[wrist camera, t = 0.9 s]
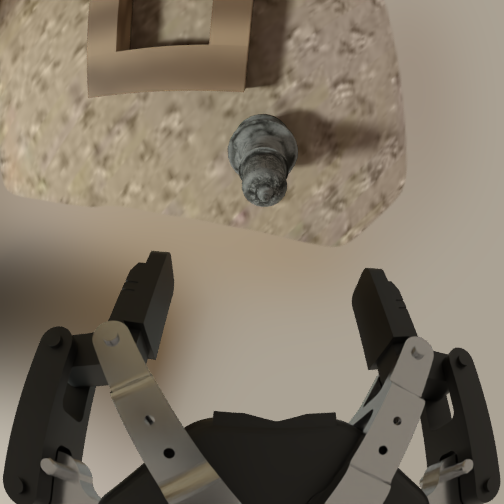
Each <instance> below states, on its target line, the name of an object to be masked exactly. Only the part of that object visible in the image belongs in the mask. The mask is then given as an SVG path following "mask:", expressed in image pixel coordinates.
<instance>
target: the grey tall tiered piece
mask: <svg viewBox="0 0 504 504" xmlns="http://www.w3.org/2000/svg"><path fill="white" fill-rule="evenodd" d="M297 157H298V147H297V143H296V140H295V138H294V136H293V134H292V133H291V132H290V131H289V130H288V129H287V128H286V126H285V125H284V124H283V123H282V122H281V121H280V120H279V119H277V118H275V117H274V116H270V115H266V114H258V115H254V116H251V117H249V118H247V119H245V120H244V121H243V122H242V123H241V124H240V125H239V127H238V128H237V130H236V131H235V132H234V134H233V136H232V137H231V139H230V142H229V146H228V158H229V161H230V164H231V166H232V167H233V169H234V170H235V172H236V173H237V174H239V176H240V178H241V180H242V190H243V193H244V196H245V197H246V199H247V200H248V201H249V202H251V203H252V204H254V205H256V206H261V207H268V206H272V205H274V204H277V203H278V202H279V201H281V200H282V198H283V197H284V196H285V193H286V190H287V181H286V179H287V176H288V174H289V173H290V171H291V170H292V168H293V167H294V166H295V163H296V160H297Z"/></svg>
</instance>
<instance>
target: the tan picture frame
mask: <svg viewBox="0 0 504 504" xmlns="http://www.w3.org/2000/svg"><path fill="white" fill-rule="evenodd" d="M253 3H254V0H213V6H212V17H211V28H210V40H209V45H176V46H161V47H150V48H141V49H133V50H130V35H131V18H132V5H133V0H90V3H89V15H88V33H87V83H88V98H93V97H100V96H108V95H117V94H126V93H138V92H154V91H190V90H195V91H231V92H244V91H245V86H246V75H247V64H248V53H249V43H250V33H251V23H252V13H253Z"/></svg>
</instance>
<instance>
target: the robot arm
mask: <svg viewBox="0 0 504 504" xmlns="http://www.w3.org/2000/svg"><path fill="white" fill-rule="evenodd" d="M173 290H174V278H173V269H172V261H171V254H170V253H169V252H159V251H151V253H150V255H149V258H148V259H147V262H146V263H138V264H137V265H136V266H134V267H133V268H132V269H131V270H130V272H129V274H128V276H127V279H126V282H125V283H124V285H123V288H122V290H121V292H120V295H119V297H118V299H117V302H116V304H115V306H114V309H113V311H112V314H111V316H110V318H109V320H108V322H105V323H103V324H101V325H100V326H99V327H97V329H96V330H95V332H93V333H88V334H79V335H71V333H70V331H69V330H68V329H66V328H64V327H53V328H51V329H49V330H48V331H47V332H46V333H45V334H44V335H43V337H42V338H41V341H40V343H39V346H38V348H37V351H36V353H35V356H34V359H33V361H32V364H31V367H30V370H29V372H28V375H27V378H26V381H25V384H24V387H23V391H22V394H21V397H20V401H19V404H18V407H17V411H16V415H15V419H14V423H13V427H12V431H11V435H10V440H9V445H8V450H7V455H6V461H5V467H4V474H3V483H4V488H5V490H6V492H7V494H8V496H9V497H10V498H11V499H12V500H13V501H14V502H15V503H16V504H483V503H486V502H489V501H491V500H492V499H493V498H494V497H495V496H496V494H497V493H498V490H499V487H500V472H499V465H498V458H497V452H496V446H495V440H494V435H493V430H492V426H491V421H490V417H489V413H488V409H487V405H486V401H485V398H484V394H483V391H482V387H481V384H480V381H479V378H478V374H477V372H476V368H475V365H474V362H473V360H472V358H471V356H470V354H469V353H468V352H467V351H465V350H464V349H462V348H454V349H453V350H452V351H451V352H450V353H449V354H443V353H439V352H435V351H433V350H432V347H431V345H430V344H429V343H428V342H427V341H426V340H424V339H423V338H420V337H418V336H417V333H416V330H415V328H414V325H413V323H412V320H411V318H410V315H409V313H408V310H407V309H406V305H405V303H404V302H403V298H402V296H401V294H400V291H399V290H398V288H397V287H396V286H395V285H394V284H393V283H392V282H391V281H388V280H387V278H386V276H385V273H384V271H383V270H382V269H374V268H365V269H364V270H363V272H362V274H361V277H360V279H359V281H358V284H357V286H356V288H355V290H354V293H353V296H352V307H353V311H354V314H355V318H356V322H357V325H358V329H359V333H360V337H361V341H362V345H363V349H364V354H365V358H366V361H367V366H368V370H374V369H378V372H379V375H378V376H377V377H376V379H375V381H374V383H373V384H372V386H371V388H370V390H369V392H368V394H367V396H366V398H365V400H364V402H363V403H362V405H361V407H360V408H359V410H358V412H357V413H356V414H355V415H354V417H353V418H352V419H351V421H350V422H349V423H346V422H344V421H341V420H336V413H335V412H334V413H317V414H305V415H301V416H298V417H294V418H290V419H286V420H282V421H272V420H268V419H263V418H260V417H256V416H252V415H249V414H245V413H231V412H218V411H214V414H213V418H207V419H203V420H200V421H197V422H194V423H192V424H190V425H188V426H186V427H185V428H184V427H183V426H182V424H181V422H180V421H179V419H178V418H177V416H176V415H175V413H174V411H173V410H172V408H171V406H170V405H169V403H168V401H167V400H166V398H165V396H164V395H163V393H162V391H161V389H160V388H159V386H158V384H157V382H156V381H155V379H154V377H153V375H152V374H151V373H150V371H149V370H148V367H147V366H146V363H147V359H154V360H156V357H157V353H158V349H159V344H160V341H161V337H162V333H163V329H164V325H165V321H166V318H167V314H168V310H169V306H170V303H171V299H172V296H173ZM104 385H109V387H110V389H111V392H110V395H111V398H112V400H113V402H114V405H115V407H116V409H117V411H118V413H119V415H120V417H121V420H122V422H123V424H124V426H125V428H126V430H127V432H128V434H129V436H130V437H131V439H132V441H133V443H134V445H135V447H136V449H137V451H138V452H139V454H140V456H141V457H142V459H143V461H144V463H143V464H142V465H141V466H140V467H139V468H137V469H136V470H135V471H134V472H133V473H132V474H130V475H129V476H128V477H127V478H125V479H124V480H123V481H122V482H120V483H119V484H118V485H117V486H116V487H114V488H113V489H112V490H110V491H109V492H108V493H107V494H105V495H104V496H103V497H102V498H100V497H99V496H98V494H97V493H96V491H95V490H94V487H93V483H92V474H91V472H90V470H89V468H88V467H87V466H86V465H85V464H84V463H83V462H82V455H83V449H84V443H85V437H86V431H87V426H88V421H89V415H90V411H91V406H92V402H93V397H94V393H95V388H96V386H104ZM449 392H450V396H451V400H452V405H453V409H454V416H453V418H451V413H450V409H449V405H448V400H447V396H446V395H447V394H448V393H449ZM419 419H421V424H422V430H423V437H424V444H425V451H426V459H427V470H426V471H425V473H424V476H423V477H422V478H421V480H420V487H421V489H420V488H419V487H418V486H417V485H416V484H415V483H414V482H413V481H411V479H409V478H408V477H407V476H406V475H405V474H404V473H403V472H402V471H401V470H400V469H399V468H398V466H399V464H400V462H401V460H402V458H403V456H404V454H405V452H406V450H407V448H408V445H409V443H410V441H411V439H412V436H413V434H414V431H415V429H416V427H417V424H418V421H419Z"/></svg>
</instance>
